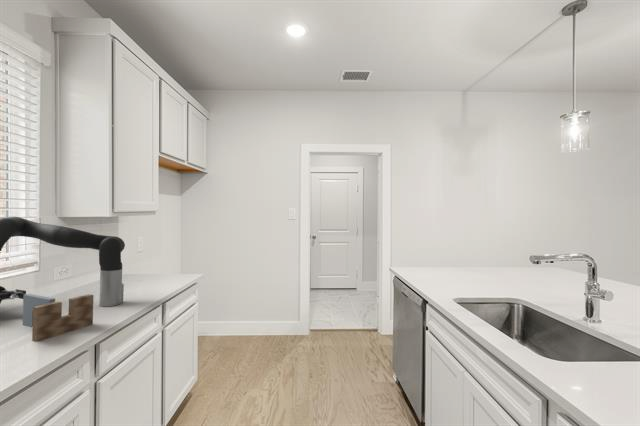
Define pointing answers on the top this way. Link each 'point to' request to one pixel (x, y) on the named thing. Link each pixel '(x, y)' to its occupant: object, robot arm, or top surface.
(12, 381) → the top surface
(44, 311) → the walnut board
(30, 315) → the slate plate
